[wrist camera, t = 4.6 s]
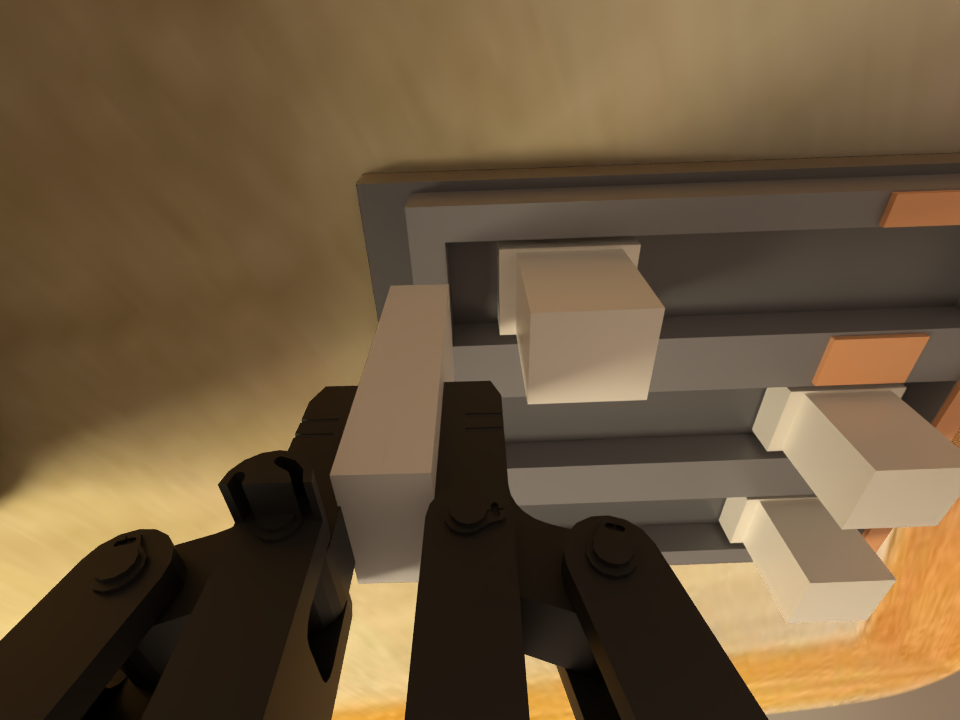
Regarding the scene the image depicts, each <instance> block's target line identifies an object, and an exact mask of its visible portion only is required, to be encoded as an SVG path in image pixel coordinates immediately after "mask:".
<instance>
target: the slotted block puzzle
mask: <svg viewBox="0 0 960 720" xmlns="http://www.w3.org/2000/svg"><path fill="white" fill-rule="evenodd" d="M356 187H357V193H358V199H359V206H360V212H361V218H362V224H363V230H364V236H365V242H366V249H367V255H368V261H369V267H370V273H371V279H372V285H373V292H374V298H375V304H376V310H377V316H378V322H379V320H380V317H381V314H382V311H383V308H384V305H385V302H386V299H387V296H388V292H389V289H390V286H398V285H435V284H449V297H450V313H451V328H452V344H453V360H454V382H459V381H491V382H492V383H493V385H494V386H495V387H496V389H497V390H498V391H499V393H500V394H501V397H502V410H503V422H504V435H505V447H506V460H507V473H508V485H509V489H510V493H511V496H512V497H513V499H514V501H515V502H516V504H517V505H518V506H519V507H520V508H521V509H522V510H523V511H524V512H525V513H527V514H529V515H530V516H532V517H533V518H535V519H538V520H540V521H543V522H546V523H549V524H552V525H556V526H560V527H564V528H568V529H572V528H573V526H574V525H575V524H576V523H577V522H579V521H582V520H584V519H586V518H589V517H591V516H605V515H609V516H613V517H617V518H621V519H625V520H627V521H629V522H631V523H633V524H634V525H636V526H638V527H639V528H641V529H643V530H644V532H645V533H646V534H647V535H648V536H649V537H650V538H651V539H652V540H653V541H654V543H655V544H656V545H657V547H658V549H659V550H660V552H661V553H662V555H663V556H664V558H665V559H666V561H667V563H668V564H669V565H689V564H715V563H741V562H753V560H752V558H751V556H750V555H749V553H748V551H747V549H746V547H745V545H744V543H730V542H729V540H728V538H727V536H726V534H725V532H724V530H723V528H722V526H721V524H720V522H719V518H720V515H721V513H722V510H723V507H724V504H725V502H726V499H727V498H732V497H758V496H784V495H811V494H815V493H814V492H813V491H812V489H811V488H810V487H809V485H808V484H807V483H806V481H805V480H804V479H803V477H802V476H801V475H800V473H799V472H798V471H797V469H796V468H795V467H794V465H793V464H792V463H791V461H790V460H789V459H788V457H787V456H786V455H785V453H784V452H783V451H767V450H766V449H765V448H764V446H763V445H762V443H761V442H760V441H759V439H758V438H757V436H756V435H755V434H754V432H753V431H752V428H753V425H754V422H755V420H756V417H757V414H758V411H759V409H760V406H761V403H762V401H763V398H764V395H765V392H766V390H767V388H773V387H799V386H831V385H858V384H885V383H902V384H903V385H904V386H905V387H907V388H906V390H905V392H904V394H903V395H902V397H901V399H902V400H903V401H904V402H905V403H906V404H908V405H909V406H910V407H911V408H912V409H914V410H915V411H916V412H917V413H918V414H919V415H921V416H922V417H923V418H924V419H925V420H926V421H928V422H929V423H930V424H931V425H932V426H933V427H935V428H936V429H937V430H938V431H939V432H941V433H942V434H943V435H944V436H945V437H946V438H948V439H949V440H950V441H952V439H953V438H954V436H955V435H956V433H957V432H958V430H959V429H960V153H943V154H914V155H886V156H858V157H830V158H802V159H773V160H745V161H717V162H689V163H661V164H632V165H604V166H576V167H548V168H520V169H491V170H463V171H435V172H407V173H379V174H363V175H362V177H361V178H360V179H359V181H358V182H357V184H356ZM614 236H634V237H635V238H636V239H637V240H638V242H639V243H640V244H641V247H640V254H639V260H638V266H637V269H638V271H639V272H640V273H641V275H642V276H643V278H644V279H645V280H646V282H647V283H648V285H649V286H650V287H651V289H652V290H653V292H654V293H655V294H656V296H657V297H658V299H659V300H660V301H661V303H662V304H663V306H664V307H665V312H664V317H663V322H662V327H661V332H660V337H659V342H658V347H657V352H656V357H655V361H654V366H653V371H652V376H651V381H650V386H649V391H648V396H647V400H632V401H605V402H578V403H551V404H528V403H527V397H526V391H525V385H524V379H523V373H522V367H521V360H520V354H519V348H518V342H517V336H516V335H500V333H499V324H498V293H497V241H503V240H531V239H559V238H586V237H614ZM857 530H858V531H859V532H860V534H861V535H862V536H863V538H864V539H865V540H866V541H867V543H868V544H869V545H870V547H871V548H872V549H873V550H874V552H875V553H876V552H877V550H878V549H879V548H880V546H881V545H882V543H883V542H884V540H885V539H886V537H887V536H888V534H889V533H890V531H891V530H892V528H870V529H857Z"/></svg>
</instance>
